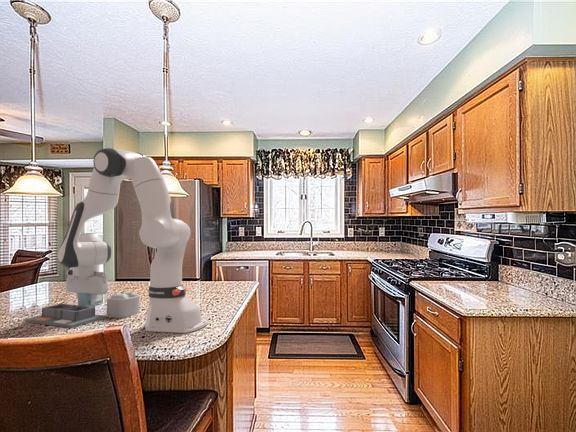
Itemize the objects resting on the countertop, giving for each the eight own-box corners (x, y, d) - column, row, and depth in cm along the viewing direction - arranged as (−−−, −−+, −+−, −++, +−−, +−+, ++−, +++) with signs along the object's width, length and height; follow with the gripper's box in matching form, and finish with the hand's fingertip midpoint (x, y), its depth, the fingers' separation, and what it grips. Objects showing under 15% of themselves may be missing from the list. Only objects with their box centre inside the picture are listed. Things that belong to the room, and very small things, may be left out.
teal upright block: (95, 310, 146) (95, 291, 147) (85, 313, 142) (86, 293, 142) (87, 309, 148) (87, 291, 148) (77, 312, 144) (78, 292, 144)
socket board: (105, 318, 134) (105, 306, 134) (71, 328, 120) (72, 315, 121) (61, 313, 142) (61, 302, 142) (25, 321, 128) (25, 309, 129)
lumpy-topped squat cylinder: (102, 316, 136) (103, 294, 137) (124, 309, 149) (125, 289, 149) (125, 318, 134) (125, 296, 134) (145, 310, 147) (146, 290, 147)
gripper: (112, 271, 145) (111, 304, 145) (76, 269, 152) (76, 300, 151) (99, 273, 139) (98, 307, 139) (63, 271, 146) (62, 303, 145)
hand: (86, 303), depth 145 cm, fingers closed on teal upright block, 4 cm apart
